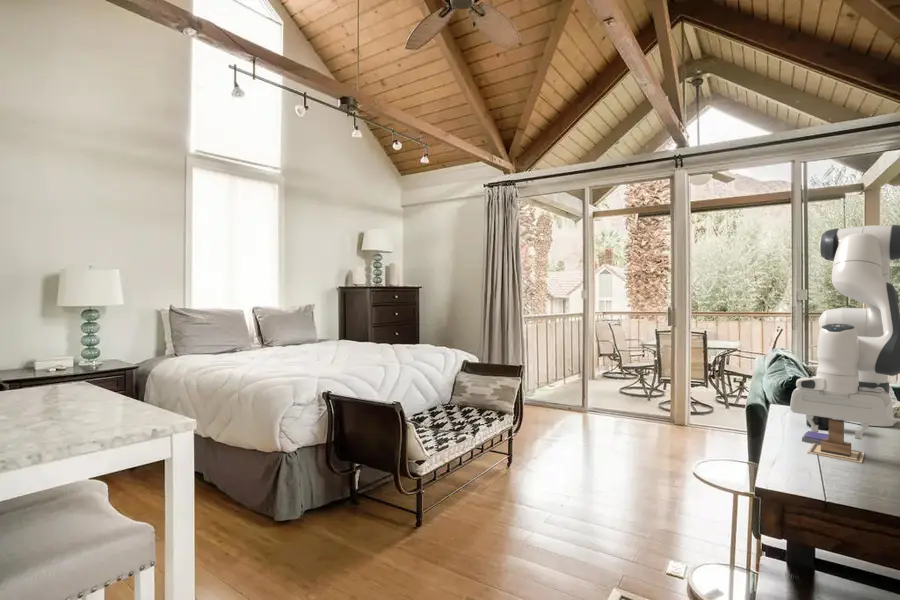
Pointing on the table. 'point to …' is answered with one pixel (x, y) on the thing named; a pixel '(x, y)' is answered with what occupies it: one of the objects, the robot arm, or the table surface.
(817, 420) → the supplement bottle
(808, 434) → the ink pad
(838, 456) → the marked card
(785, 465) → the table surface
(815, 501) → the table surface
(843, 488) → the table surface
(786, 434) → the table surface
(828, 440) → the stamp
